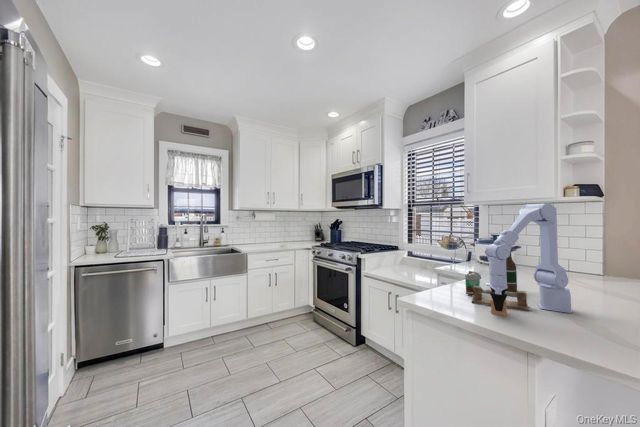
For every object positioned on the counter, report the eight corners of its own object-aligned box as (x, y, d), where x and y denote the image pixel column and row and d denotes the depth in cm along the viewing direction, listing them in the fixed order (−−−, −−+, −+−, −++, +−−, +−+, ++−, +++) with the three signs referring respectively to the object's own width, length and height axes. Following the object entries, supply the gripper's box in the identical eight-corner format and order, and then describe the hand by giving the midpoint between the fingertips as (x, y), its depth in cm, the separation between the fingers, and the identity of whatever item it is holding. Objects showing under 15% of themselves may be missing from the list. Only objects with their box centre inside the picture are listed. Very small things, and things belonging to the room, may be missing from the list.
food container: (480, 297, 122) (479, 276, 122) (465, 295, 126) (465, 275, 126) (483, 291, 132) (482, 272, 132) (469, 289, 136) (468, 270, 136)
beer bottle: (502, 292, 130) (500, 244, 130) (496, 288, 137) (495, 243, 138) (520, 293, 128) (519, 245, 128) (513, 289, 135) (512, 243, 135)
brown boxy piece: (527, 305, 111) (526, 290, 111) (529, 311, 104) (528, 295, 104) (473, 297, 122) (472, 284, 122) (471, 302, 116) (471, 288, 116)
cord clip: (506, 312, 104) (506, 298, 104) (506, 316, 100) (506, 302, 100) (491, 309, 107) (491, 296, 107) (491, 313, 103) (491, 299, 103)
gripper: (486, 269, 112) (487, 301, 112) (485, 276, 100) (486, 311, 100) (506, 271, 108) (507, 303, 108) (507, 278, 96) (508, 315, 96)
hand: (498, 307), depth 103 cm, fingers open, 7 cm apart
